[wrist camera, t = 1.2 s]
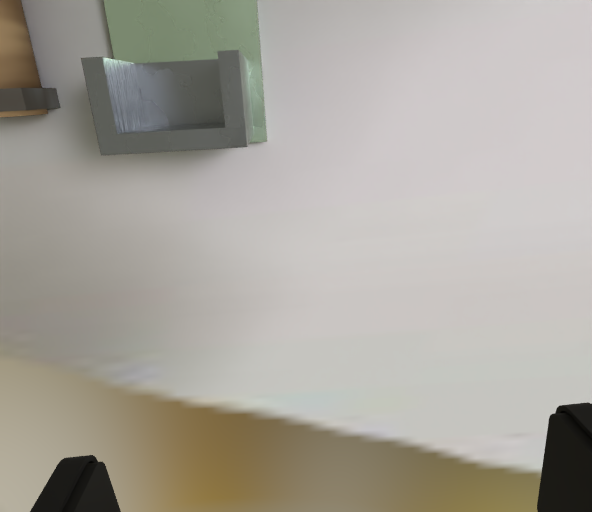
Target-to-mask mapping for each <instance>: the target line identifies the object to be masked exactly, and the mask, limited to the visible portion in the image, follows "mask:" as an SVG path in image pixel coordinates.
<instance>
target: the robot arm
mask: <svg viewBox="0 0 592 512" xmlns="http://www.w3.org/2000/svg"><path fill="white" fill-rule="evenodd" d="M537 510H538V512H592V404H590V403H580V404H571V405H562V406H559V407H558V408H557V410H556V413H555V414H552V415H551V416H550V418H549V424H548V431H547V439H546V446H545V453H544V460H543V467H542V475H541V483H540V489H539V497H538V504H537ZM30 512H121V511H120V508H119V505H118V502H117V499H116V496H115V493H114V490H113V487H112V484H111V481H110V478H109V475H108V472H107V469H106V466H105V464H104V463H103V462H98V461H97V459H96V457H95V456H93V455H89V456H79V457H70V458H64V459H63V460H61V461H60V462H59V464H58V465H57V467H56V469H55V470H54V472H53V474H52V475H51V477H50V479H49V480H48V482H47V484H46V486H45V487H44V489H43V491H42V492H41V494H40V496H39V498H38V499H37V501H36V503H35V504H34V506H33V508H32V509H31V511H30Z"/></svg>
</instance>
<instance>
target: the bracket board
mask: <svg viewBox="0 0 592 512" xmlns="http://www.w3.org/2000/svg"><path fill="white" fill-rule="evenodd" d="M103 1H104V6H105V12H106V17H107V23H108V28H109V34H110V39H111V45H112V50H113V56H114V59H110V58H105V57H93V58H81V60H82V65H83V70H84V75H85V80H86V85H87V89H88V94H89V99H90V104H91V109H92V114H93V118H94V123H95V128H96V133H97V138H98V143H99V148H100V152H101V155H116V154H133V153H151V152H168V151H186V150H203V149H221V148H238V147H247V146H248V144H249V143H250V142H266V141H267V133H266V120H265V106H264V92H263V78H262V65H261V51H260V37H259V24H258V10H257V0H103Z"/></svg>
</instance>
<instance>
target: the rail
mask: <svg viewBox="0 0 592 512" xmlns="http://www.w3.org/2000/svg"><path fill="white" fill-rule="evenodd" d="M51 108H60V103H59V99H58V95H57V90H56V88H42V86H41V82H40V78H39V74H38V70H37V66H36V62H35V57H34V53H33V49H32V45H31V41H30V37H29V32H28V28H27V24H26V20H25V16H24V12H23V8H22V3H21V0H0V117H13V116H27V115H40V114H48V111H47V109H51Z"/></svg>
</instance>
